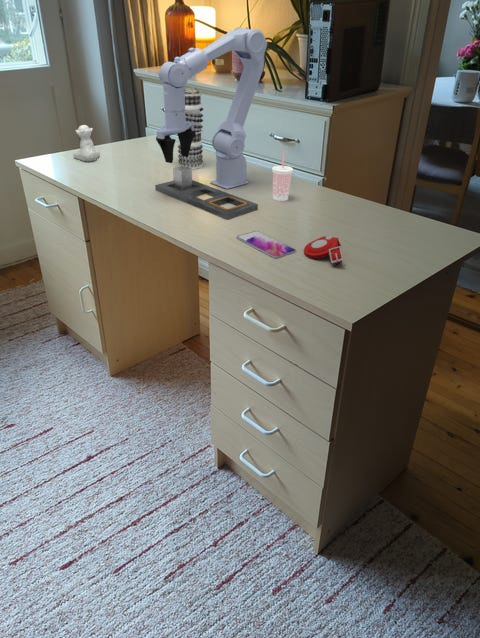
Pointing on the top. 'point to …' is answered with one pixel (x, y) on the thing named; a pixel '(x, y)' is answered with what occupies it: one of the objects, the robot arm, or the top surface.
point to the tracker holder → (325, 249)
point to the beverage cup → (281, 181)
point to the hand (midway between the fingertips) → (177, 159)
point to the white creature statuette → (86, 145)
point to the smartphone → (266, 244)
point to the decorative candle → (193, 116)
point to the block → (182, 178)
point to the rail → (211, 203)
